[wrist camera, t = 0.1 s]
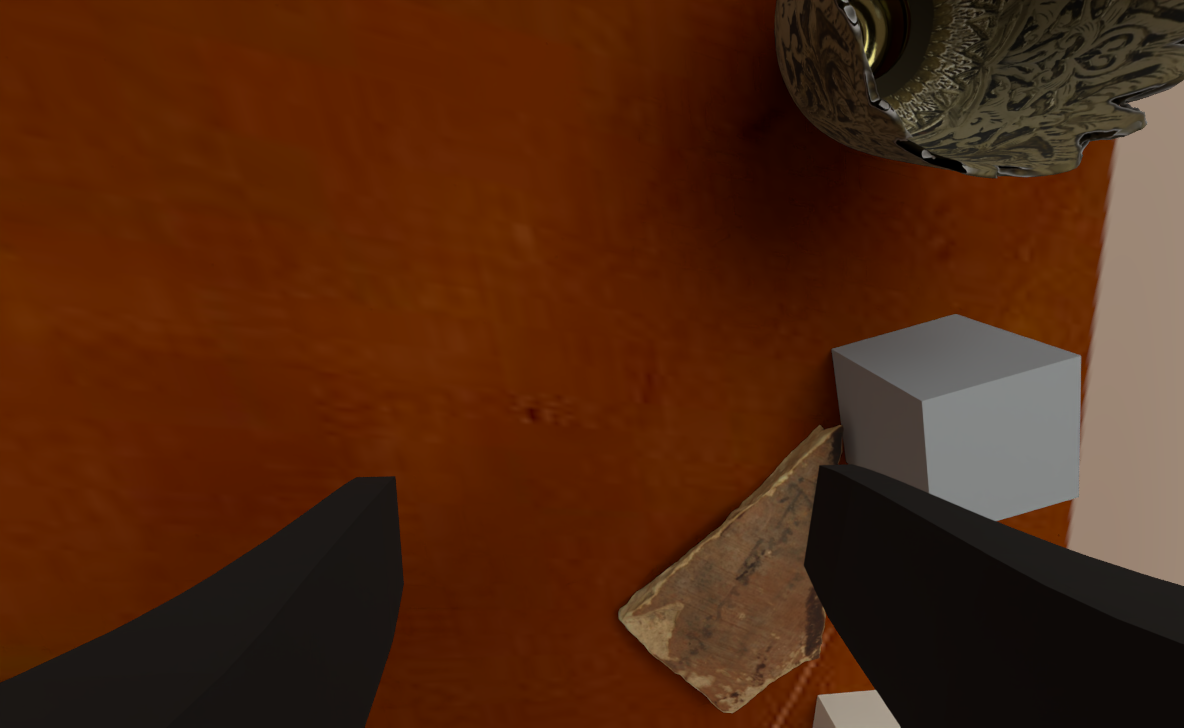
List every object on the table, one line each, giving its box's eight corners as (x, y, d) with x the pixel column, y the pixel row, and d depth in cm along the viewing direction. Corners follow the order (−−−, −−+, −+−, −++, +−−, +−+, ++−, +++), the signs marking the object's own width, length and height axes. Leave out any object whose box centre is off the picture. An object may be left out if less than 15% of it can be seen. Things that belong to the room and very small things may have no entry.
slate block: (960, 427, 22) (1078, 496, 18) (845, 460, 22) (932, 539, 17) (954, 313, 21) (1081, 355, 16) (830, 348, 21) (921, 401, 16)
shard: (822, 408, 22) (847, 428, 20) (932, 531, 24) (963, 558, 22) (607, 595, 23) (613, 628, 22) (729, 694, 26) (743, 732, 24)
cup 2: (1001, -21, 18) (1362, -165, 10) (868, 214, 19) (1090, 242, 12) (791, -166, 16) (1033, -469, 8) (666, 105, 18) (774, 56, 10)
